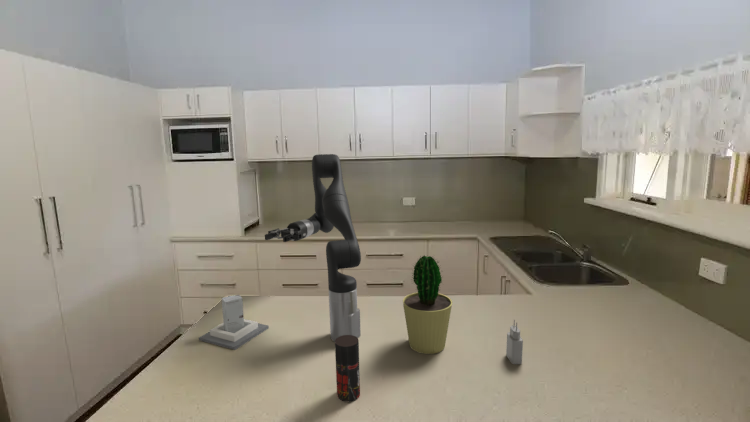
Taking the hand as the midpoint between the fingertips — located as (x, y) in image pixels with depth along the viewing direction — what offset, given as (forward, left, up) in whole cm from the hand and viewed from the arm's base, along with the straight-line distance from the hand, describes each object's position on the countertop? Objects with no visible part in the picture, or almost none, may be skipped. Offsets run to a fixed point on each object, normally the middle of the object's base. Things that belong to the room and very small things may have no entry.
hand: (274, 238), depth 143 cm
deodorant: (-48, +32, -30) cm, 65 cm away
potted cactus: (-59, 0, -30) cm, 66 cm away
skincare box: (+4, +19, -29) cm, 35 cm away
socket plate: (+4, +19, -30) cm, 36 cm away
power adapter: (-85, -2, -30) cm, 90 cm away
